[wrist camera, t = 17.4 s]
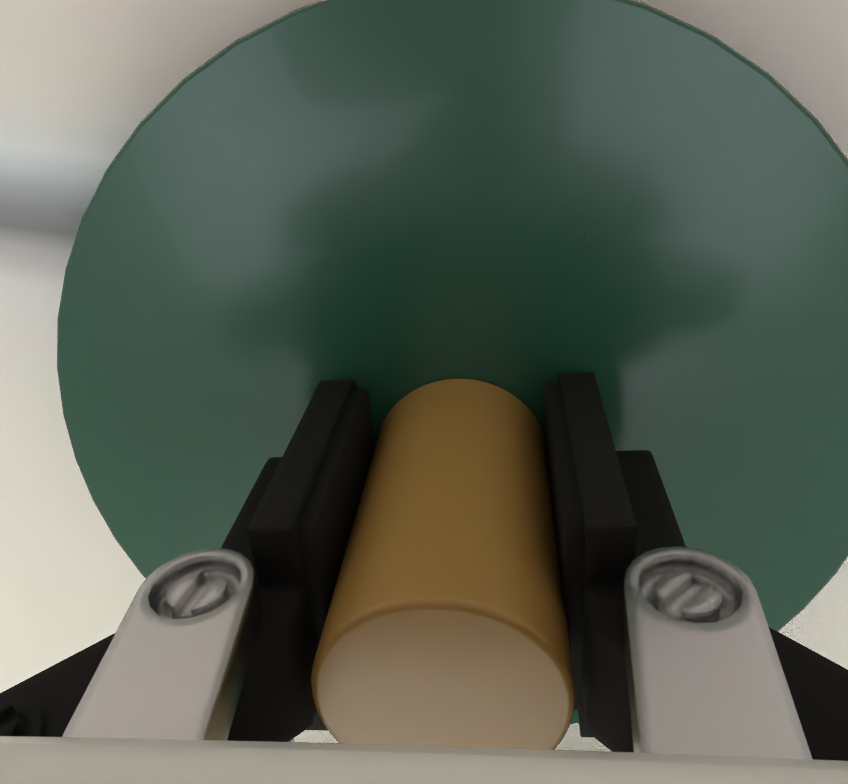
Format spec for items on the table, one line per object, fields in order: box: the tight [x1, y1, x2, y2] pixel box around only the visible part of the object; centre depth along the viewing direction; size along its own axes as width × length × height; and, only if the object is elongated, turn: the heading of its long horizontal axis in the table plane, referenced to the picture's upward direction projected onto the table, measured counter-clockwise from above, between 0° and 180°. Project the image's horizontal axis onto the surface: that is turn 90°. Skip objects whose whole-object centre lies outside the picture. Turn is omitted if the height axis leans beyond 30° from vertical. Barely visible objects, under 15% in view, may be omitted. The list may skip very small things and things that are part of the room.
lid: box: [57, 0, 848, 750], centre depth 10 cm, size 14×14×6 cm
